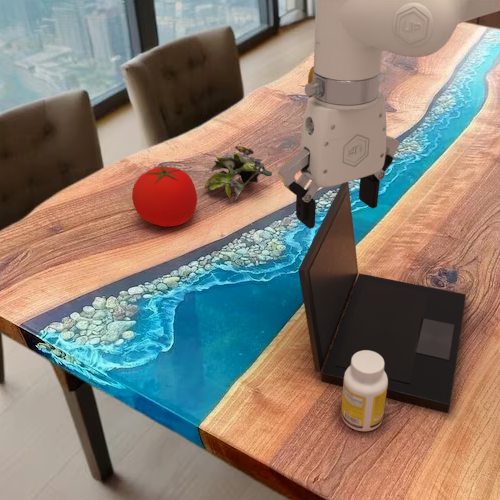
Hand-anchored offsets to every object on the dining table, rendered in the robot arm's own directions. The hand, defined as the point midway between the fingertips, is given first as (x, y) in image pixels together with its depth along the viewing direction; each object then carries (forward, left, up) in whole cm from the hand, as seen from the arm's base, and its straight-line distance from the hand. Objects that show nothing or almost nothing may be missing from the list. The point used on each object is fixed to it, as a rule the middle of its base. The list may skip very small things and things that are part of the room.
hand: (337, 213), depth 84 cm
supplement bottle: (-8, +13, -22) cm, 27 cm away
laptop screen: (0, -3, -12) cm, 12 cm away
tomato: (+37, -22, -22) cm, 48 cm away
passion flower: (+28, -36, -22) cm, 51 cm away
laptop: (-10, -3, -22) cm, 24 cm away
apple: (+21, -82, -22) cm, 87 cm away
